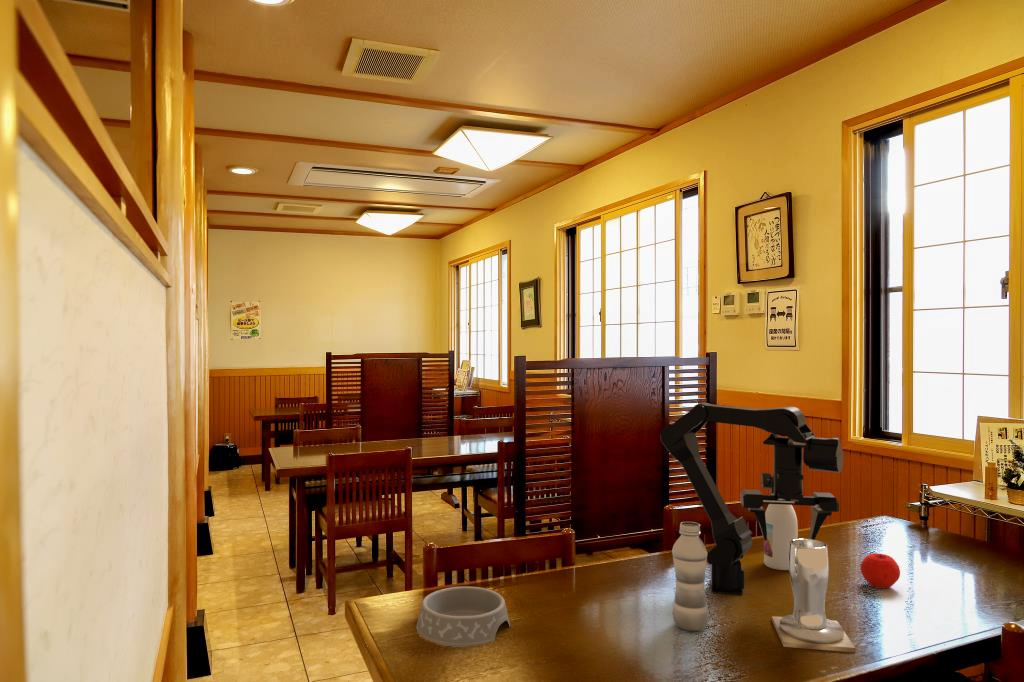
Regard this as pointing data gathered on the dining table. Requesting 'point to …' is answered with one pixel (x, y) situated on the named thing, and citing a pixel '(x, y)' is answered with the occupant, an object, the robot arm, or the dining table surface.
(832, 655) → the dining table surface
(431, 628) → the dog bowl
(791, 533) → the milk bottle
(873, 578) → the apple
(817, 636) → the flange
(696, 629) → the plastic bottle
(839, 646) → the base plate
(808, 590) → the beer glass
